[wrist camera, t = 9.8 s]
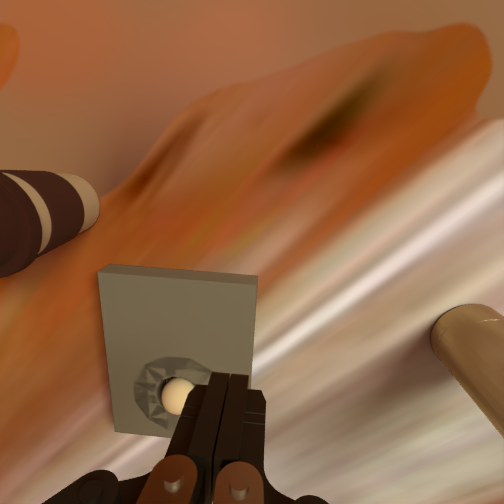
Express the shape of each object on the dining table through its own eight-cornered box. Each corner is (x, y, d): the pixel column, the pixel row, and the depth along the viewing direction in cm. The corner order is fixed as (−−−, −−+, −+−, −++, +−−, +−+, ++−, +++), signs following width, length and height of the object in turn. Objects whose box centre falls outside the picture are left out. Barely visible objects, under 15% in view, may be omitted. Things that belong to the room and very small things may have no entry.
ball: (197, 377, 47) (192, 368, 43) (202, 412, 44) (196, 405, 40) (165, 385, 47) (156, 376, 43) (167, 421, 44) (158, 415, 40)
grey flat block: (257, 275, 40) (256, 285, 37) (247, 428, 48) (246, 446, 45) (109, 264, 41) (97, 272, 38) (124, 415, 49) (114, 431, 46)
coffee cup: (126, 199, 38) (36, 224, 24) (86, 254, 41) (-16, 308, 26) (59, 144, 36) (-80, 136, 22) (22, 206, 39) (-122, 234, 25)
